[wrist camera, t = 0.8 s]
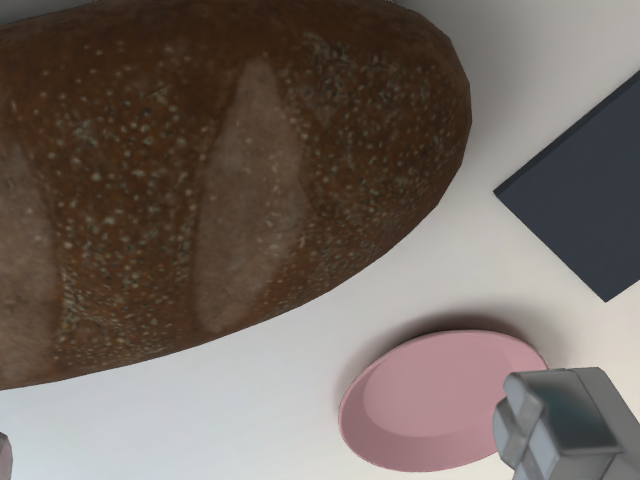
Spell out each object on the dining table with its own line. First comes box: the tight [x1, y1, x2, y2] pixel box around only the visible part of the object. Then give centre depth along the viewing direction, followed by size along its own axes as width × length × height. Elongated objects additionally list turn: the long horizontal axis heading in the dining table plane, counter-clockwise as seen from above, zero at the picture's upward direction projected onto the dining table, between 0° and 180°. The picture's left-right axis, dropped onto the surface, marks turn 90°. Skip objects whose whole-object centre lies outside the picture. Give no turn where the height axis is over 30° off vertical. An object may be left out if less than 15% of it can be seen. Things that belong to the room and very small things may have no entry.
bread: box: [0, 0, 472, 391], centre depth 24 cm, size 16×36×8 cm, turn 103°
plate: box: [338, 330, 548, 472], centre depth 39 cm, size 14×14×2 cm
